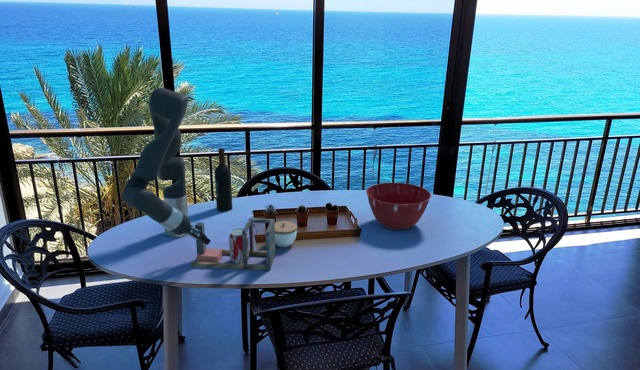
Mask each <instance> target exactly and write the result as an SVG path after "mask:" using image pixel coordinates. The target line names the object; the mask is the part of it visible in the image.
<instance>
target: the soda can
mask: <svg viewBox="0 0 640 370" xmlns="http://www.w3.org/2000/svg"><path fill="white" fill-rule="evenodd" d="M243 229H244V228H234V229H232V230H231V231H230V234H229V237H228V245H229V247H228V250H230V254H229V259H230V263H236V264H244V261H243V237H242V231H243ZM246 234H247V259H248V260H249V258H250V255H249V250H250V242H249V233H248V232H247V233H246Z"/></svg>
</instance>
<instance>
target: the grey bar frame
mask: <svg viewBox="0 0 640 370" xmlns="http://www.w3.org/2000/svg"><path fill="white" fill-rule="evenodd" d="M275 221H276V220H275V218H256V217H254V218H253V217H252V218H251V217H250V218H248V220H247V222H246V224H245V226H244V227H243V228H242V229H243V231H242V237H243V261H244V263H243V264H236V263H233V262H219V263H213V262H197V261H191V262H190V267H192V268H207V269H208V268H211V269H212V268H213V269H228V270H229V269H233V270H256V271H271V269H272V265H273V264H274V263H273V262H274V261H275V260H274V259H275V257H276V244H275V223H276V222H275ZM255 223H256V224H268V227H267V228H266V232H265V239H266V240H265V246H266V247H265V249H266V250H254V248H255V247H254V226H253V225H254V224H255ZM246 233H247V234H248V242H249V256H253V257H254V256H260V257H265V258H266V264H257V263H248V261H249V259H247V234H246ZM222 255H230V249H229V248H226V249H225V248H222Z"/></svg>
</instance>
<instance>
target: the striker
mask: <svg viewBox="0 0 640 370" xmlns="http://www.w3.org/2000/svg"><path fill="white" fill-rule="evenodd" d="M194 227H195V228H196V229H198V230H199V231H201V232H202V233H203V234H204V235H206V231H205V222H196V223H195V224H194ZM195 246H196V262H213V263H220V261H221V260H222V257H223V254H222V249H223V248H222V249H221V248H206V247H207V246H206V244H205V243H203V242H201V241H199V240H198V239H195Z"/></svg>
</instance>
